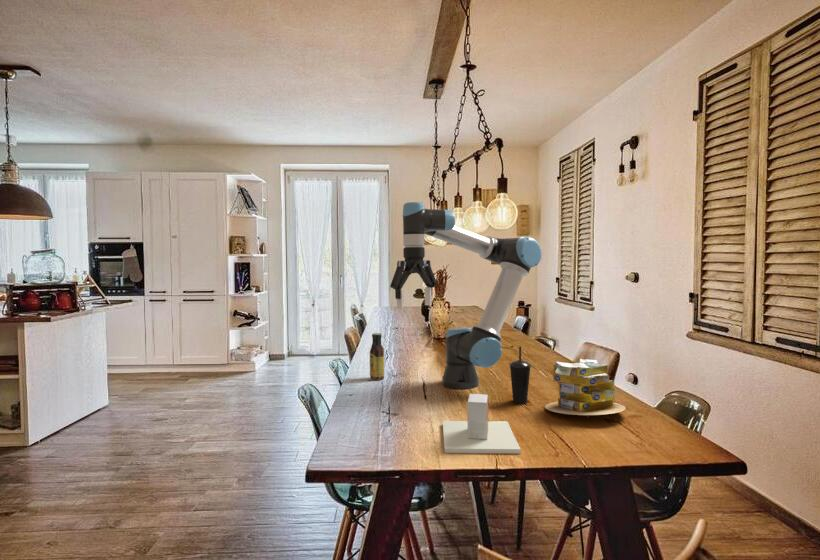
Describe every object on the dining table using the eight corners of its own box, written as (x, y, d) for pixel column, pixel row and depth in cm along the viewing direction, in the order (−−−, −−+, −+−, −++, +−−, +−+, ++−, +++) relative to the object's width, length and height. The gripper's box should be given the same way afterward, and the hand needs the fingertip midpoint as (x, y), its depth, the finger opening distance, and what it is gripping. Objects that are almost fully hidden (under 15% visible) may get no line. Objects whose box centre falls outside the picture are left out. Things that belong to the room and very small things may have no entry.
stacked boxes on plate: (532, 403, 157) (532, 357, 156) (593, 398, 163) (594, 352, 162) (572, 429, 133) (572, 375, 132) (643, 422, 139) (643, 369, 138)
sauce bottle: (370, 377, 195) (369, 332, 194) (384, 376, 195) (383, 331, 194) (369, 381, 188) (369, 334, 187) (384, 380, 189) (384, 334, 188)
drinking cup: (532, 399, 161) (532, 345, 160) (529, 406, 154) (529, 349, 153) (511, 397, 164) (511, 343, 163) (507, 403, 158) (507, 347, 157)
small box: (487, 440, 123) (487, 402, 123) (467, 438, 124) (467, 401, 124) (488, 429, 131) (488, 394, 131) (469, 427, 132) (469, 393, 132)
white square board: (442, 424, 138) (442, 421, 138) (507, 425, 137) (507, 421, 137) (444, 452, 118) (444, 448, 118) (520, 453, 117) (520, 449, 117)
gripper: (431, 247, 167) (431, 303, 168) (379, 246, 151) (380, 309, 152) (445, 246, 162) (446, 304, 163) (393, 246, 145) (394, 310, 146)
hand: (414, 306), depth 157 cm, fingers open, 13 cm apart
